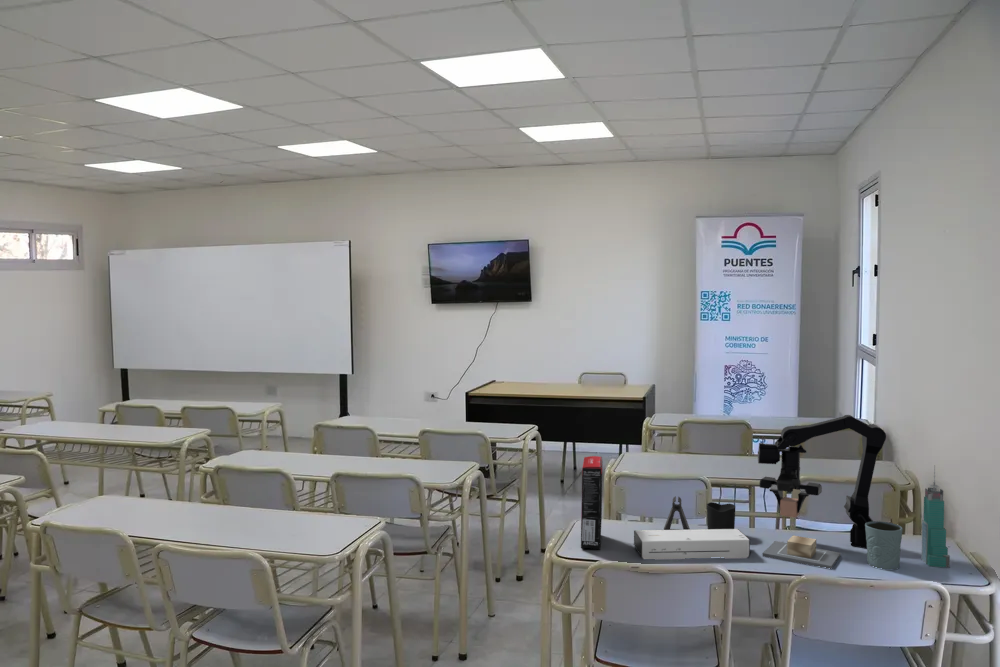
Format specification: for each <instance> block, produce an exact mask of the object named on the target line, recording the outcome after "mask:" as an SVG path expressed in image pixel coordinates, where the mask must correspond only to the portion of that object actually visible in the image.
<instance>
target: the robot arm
mask: <svg viewBox="0 0 1000 667" xmlns="http://www.w3.org/2000/svg"><path fill="white" fill-rule="evenodd" d="M847 429H850V430H852V431H854V432H855V433H857V434H859V435H861V444H862V446H861V447H862V454H861V459H860V463H859V467H858V472H857V477H856V481H855V486H854V491H853V493H852V495H851V496H849V495H846V498H845V504H844V505H843V508H844V509H845V513H846V515H847V517H849V519H850V520H851V522H853V524H852V527H851V529H849V531H850V532H849V536H850V537H849V538H850V539H849V542H850V547H851V546H852V547H858V548H863V547H865V548H864V549H867V540H866V530H865V523H867V522H871V521H874V520H873V519H872V517H871V516H870V504H869V494H870V489H871V486H872V480H873V475H874V472H875V467H876V462H877V458H878V454H879V453H880V452H881V450H882V449H883V446H884V444H885V442H886V439H887V433H886V432H885V430H884V429H883V428H881V427H880V426H878V425H877V424H872V423H871V424H867V423H866V422H863V421H861V420H860V419H857V418H856V417H854V416H852V415H851V414H844V415H843V416H839V417H836V418H835V417H834V418H832V419H827V420H823V421H820V422H817V423H812V424H808V425H807V424H805V425H788V426H784V427H783V428H782V430H781V432H780V436H779V437H778V438H777V440H776V441H775V442H774V443H763V442H759V443H758V448H757V449H758V451H757V463H758V464H760V465H761V464H762V465H763V464H764V465H765V464H766V465H777V463H779V462H780V460H781V464H780V465H781V468H780V473H779V476H778V478H777V479H776V477H773V476H772V477H771V476H764V477H763V478H761V479H760V480H759V488H761V489H766V490H767V489H768V490H769V492H771V493H773V494H774V496H775V498H776V500H777V504H778V506H779V508H780V500H781V499H782V498H784V494H783V493H784V492H787V493H793V492H794V490H799V492H798V494H797V496H798V497H797V499H798V506H797V513H799V512H801V509H802V507H803V504H804V501H805V500H806V498H807V497H809V496H810V495H811V496H819V495H820V494H821V493H822V492H823V486H822V485H821V483H818V482H808V483H807V484H802V483H801V479H800V474H801V473H800V471H801V453H802V454H806V453H807V450H806V449H805V448H804V447H803V445H802V444H803V443H805V442H807V441H808V440H810V439H813V438H816V437H819V436H823V435H827V434H832V433H835V432H839V431H844V430H847Z"/></svg>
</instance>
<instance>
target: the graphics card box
mask: <svg viewBox="0 0 1000 667" xmlns="http://www.w3.org/2000/svg"><path fill="white" fill-rule="evenodd" d="M580 510H581V511H580V512H581V513H580V514H581V515H580V518H581V519H580V520H581V521H580V532H581V533H580V548H581V549H584V548H593V549H592V550H600V549H601V543H602V541H601V540H602V538H601V537H602V536H601V535H602V517H603V516H602V513H603V512H602V511H603V457H602V456H598V455H597V456H596V455H592V456H584V457H583V463H582V470H581V509H580Z"/></svg>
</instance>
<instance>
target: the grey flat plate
mask: <svg viewBox="0 0 1000 667" xmlns="http://www.w3.org/2000/svg"><path fill="white" fill-rule="evenodd" d="M764 556H765V557H764ZM841 556H842V552H839V551H838V552H837V551H832V550H829V549H823V548H817V547H816V553H815V554H814V555H813V556H812V558H806V557H801V556H796V555H790V554H787V542H782V541H777V540H775V541H773V542H772V543H771V544H770V545H769V546H768V547H767V548H766V549H765V550H764V551H763V552H762V557H764V558H769V557H770V558H771V559H775V560H781V561H785V562H790V561H791V562H792V563H795V562H796V563H797V564H801V563H802V564H801V565H806V564H808V565H807V566H811V565H814V566H813V567H816V566H820V567H819V568H822V567H826V568H825V569H827V568H830V569H829V570H832V569H833V568H832V567H834V566H835V565H836V563H837V562H838V561H839V559H840V558H839V557H841ZM836 561H837V562H836ZM834 564H835V565H834ZM833 565H834V566H833ZM831 568H832V569H831Z"/></svg>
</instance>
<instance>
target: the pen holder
mask: <svg viewBox="0 0 1000 667" xmlns="http://www.w3.org/2000/svg"><path fill="white" fill-rule="evenodd" d="M706 518H707V519H706V520H707V521H706V522H707V526H706V527H707V529H735V527H736V526H735V523H736V522H735V521H736V505H734V504H733V503H723V504H721V503H717V502H713V501H712V502H708V503H706Z"/></svg>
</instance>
